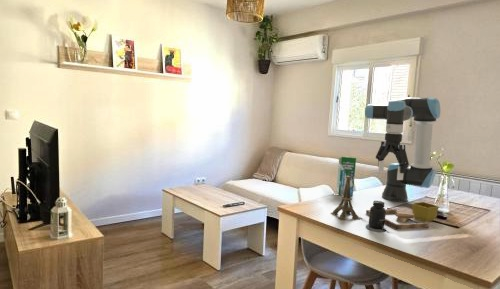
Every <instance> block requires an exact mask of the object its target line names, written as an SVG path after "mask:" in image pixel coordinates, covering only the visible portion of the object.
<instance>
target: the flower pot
mask: <svg viewBox="0 0 500 289" xmlns="http://www.w3.org/2000/svg"><path fill="white" fill-rule="evenodd" d="M411 205H412V213H413V214H414V219H416V220H419V221H422V222H423V223H429V222H433V221H434V220H435V219H436V217H437V216H438V215H437V214H438V210H439V206H438V205H435V204H432V203H428V202H426V201H420V202H412V203H411Z"/></svg>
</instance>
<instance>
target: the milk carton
mask: <svg viewBox="0 0 500 289" xmlns="http://www.w3.org/2000/svg"><path fill="white" fill-rule="evenodd" d="M356 163H357V158H356V157H351V156H347V155H344V156H341V157H339V159H338V168H337V177H336V178H337V180H336V181H337V182H336V191H335V192H336V193H337V194H338V196H343V194H344V190H345V185H346V180H347V179H346V176H348V174H349V176H350V177H351V179H350V197H353V196H354V188H355V186H354V185H355V176H356V175H355V174H356V166H357V164H356Z"/></svg>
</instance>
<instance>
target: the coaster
mask: <svg viewBox="0 0 500 289" xmlns="http://www.w3.org/2000/svg"><path fill="white" fill-rule="evenodd" d="M368 224H369V223H367V224H365V228H366V229H367V230H369V231H372V232H375V233H386V232H387V231H388V230H387V229H385V228H383V229H374V228H371V227H369V225H368Z"/></svg>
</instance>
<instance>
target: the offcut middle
mask: <svg viewBox="0 0 500 289" xmlns="http://www.w3.org/2000/svg"><path fill="white" fill-rule="evenodd" d="M407 221H409V220H408V218H401V217H397V216H396V222H398V223H401V224H406V223H407Z"/></svg>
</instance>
